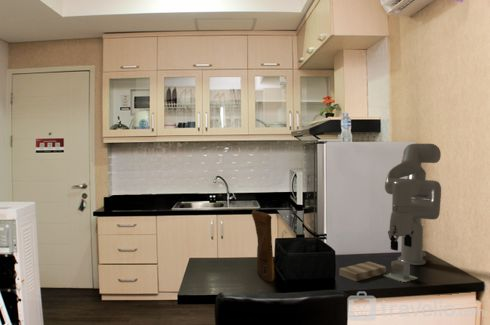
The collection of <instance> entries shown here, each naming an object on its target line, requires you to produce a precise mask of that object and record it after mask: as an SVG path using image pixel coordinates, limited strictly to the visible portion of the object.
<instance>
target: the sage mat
mask: <svg viewBox="0 0 490 325" xmlns="http://www.w3.org/2000/svg"><path fill="white" fill-rule="evenodd" d="M382 277H386V278H387V279H391V280H393V281H397V282H400V281H401V282H400V283H403V282H405V283H408V282H412V281H415V280H418V279H419V277H416V276H414V275H411V274H410V278H406V279H401V278H398V277H395V276H392V275H391V272H390V273H385V274H382ZM411 280H412V281H411Z"/></svg>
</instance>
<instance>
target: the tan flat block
mask: <svg viewBox="0 0 490 325" xmlns="http://www.w3.org/2000/svg"><path fill="white" fill-rule="evenodd" d="M386 270H387V268H386V266H385V265H382V264H378V263H375V262H372V261H366V262H362V263H356V264H353V265H349V266H344V267H340V268H339V271H338V272H339V273H338V274H339V276H340V277H343V278H346V279H348V280H351V281H354V282H358V281H362V280H366V279H369V278H374V277H376V276H381V275H385V274H387V273H386V272H387V271H386Z"/></svg>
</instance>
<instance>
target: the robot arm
mask: <svg viewBox="0 0 490 325" xmlns="http://www.w3.org/2000/svg"><path fill="white" fill-rule="evenodd" d="M441 154H442V153H441V149H440V147H439V146H438V145H436V144H434V143H411V144H408V145H406V147H405V148H404V150H403V154H402V155H403V156H402V160H401V162H400V163H399V164H397V165H395V166H393V167H392V168H391V169H390V170H389V171H388V173H387V175H386V179H385V181H384V190H385V192H386V193H387V194H389V195H392V198H391V199H392V204H391V205H392V206H391V211H392V212H391V215H390V218H389V230H388V231H387V234H388V238H389V240H390V250H393V251H395V252H397V251H399V241H398V239H399V237H401V245H400V246H401V250H400V252H401V253H400V254H401V255H400V256H398V257H397V260H399V261H403V262H406V263H410V266H411V265H413V266H422V265H426V263H427V261H426V259H424V257H425V256H426V255H427V253H426V252H425V251H423V241H424V240H423V239H424V238H423V237H424V236H423V233H424V232H423V231H424V227H423V225H422V223H421V222H420V221H419V219H423V220H437V219H438V218H439V216H440V211H441V202H442V200H441V199H442V187H441V184H440V182H439V181H437V180H431V179H427V178H426V177H427V173H426V170H425V169H424V168H423V167H422V166H421V165H422V164H425V163H426V164H436V163H438V162H440V161H441ZM405 177H406V178H405Z"/></svg>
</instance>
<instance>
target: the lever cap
mask: <svg viewBox="0 0 490 325" xmlns="http://www.w3.org/2000/svg"><path fill="white" fill-rule="evenodd" d="M390 262H391V264H390V273H391V275H392V276H395V277H398V278H401V279H406V278H410V275H411V264H410V263H406V262H403V261H399V260H398V259H397V260H396V259H395V260H392V261H390Z"/></svg>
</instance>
